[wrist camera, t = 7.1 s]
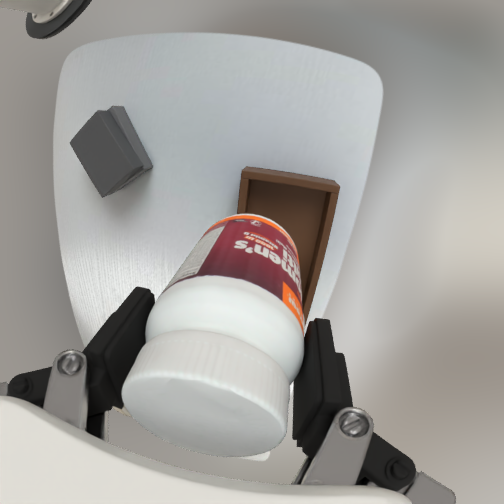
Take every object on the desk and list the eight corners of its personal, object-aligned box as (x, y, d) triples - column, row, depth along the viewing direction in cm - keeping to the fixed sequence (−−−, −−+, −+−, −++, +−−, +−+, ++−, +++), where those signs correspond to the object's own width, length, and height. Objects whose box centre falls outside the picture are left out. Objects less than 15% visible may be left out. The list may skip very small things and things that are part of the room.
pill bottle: (319, 255, 16) (352, 428, 6) (254, 315, 19) (226, 472, 9) (239, 188, 15) (151, 314, 5) (181, 261, 18) (89, 402, 7)
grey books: (90, 134, 29) (67, 137, 24) (124, 105, 27) (102, 103, 23) (118, 191, 32) (97, 201, 28) (155, 166, 30) (136, 173, 26)
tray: (246, 166, 29) (241, 170, 26) (334, 180, 29) (340, 186, 26) (226, 351, 41) (222, 366, 38) (289, 360, 40) (288, 376, 37)
